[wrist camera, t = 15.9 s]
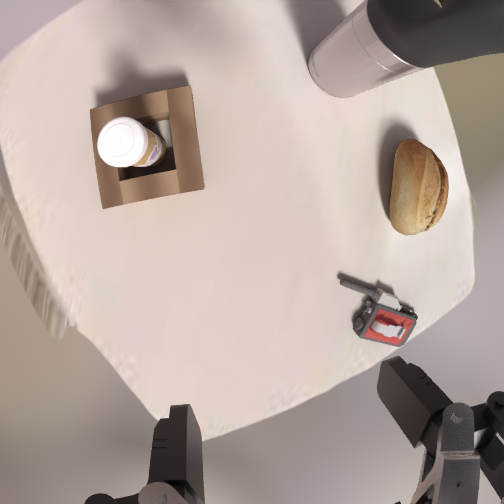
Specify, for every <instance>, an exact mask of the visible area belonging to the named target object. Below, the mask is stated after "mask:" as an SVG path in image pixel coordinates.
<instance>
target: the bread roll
mask: <svg viewBox="0 0 504 504" xmlns="http://www.w3.org/2000/svg"><path fill="white" fill-rule="evenodd" d="M448 189H449V185H448V175H447V172H446V169H445V167H444V166H443V164H442V162H441V161H440V159H439V158H438V157H437V156H436V155H435V153H434V152H433V151H432V149H430V148H428V147H426V146H425V145H423V144H422V143H421V142H419V141H417V140H414V139H407V140H404V141H402V143H401V144H400V145H399V146H398V148H397V150H396V153H395V159H394V170H393V182H392V191H391V199H390V220H391V224H392V226H393V227H394V229H395V230H396V231H398V232H399V233H401V234H404V235H415V234H418V233H420V232H423V231H427V230H428V229H430V228H431V227H433V226H434V225H435V224H436V223H437V222H438V221H439V220H440V218H441V217H442V215H443V213H444V210H445V207H446V204H447V198H448Z"/></svg>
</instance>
